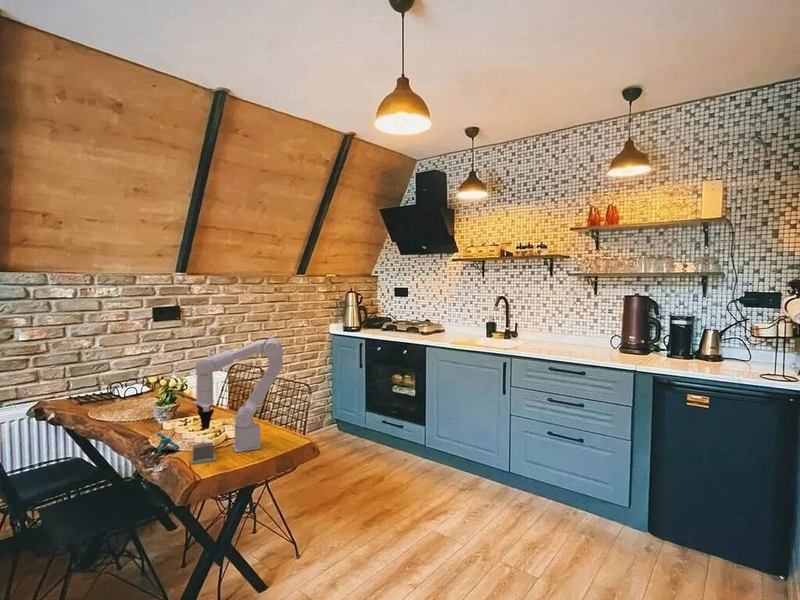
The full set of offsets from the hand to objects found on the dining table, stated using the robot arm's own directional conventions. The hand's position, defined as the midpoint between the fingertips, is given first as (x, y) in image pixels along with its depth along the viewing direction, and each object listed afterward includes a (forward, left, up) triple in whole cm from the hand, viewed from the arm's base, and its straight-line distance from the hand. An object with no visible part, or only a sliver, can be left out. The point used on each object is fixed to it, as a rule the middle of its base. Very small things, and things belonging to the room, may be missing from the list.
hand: (205, 424), depth 175 cm
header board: (+1, +9, -10) cm, 13 cm away
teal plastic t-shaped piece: (+13, -6, -10) cm, 17 cm away
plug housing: (+1, +9, -9) cm, 13 cm away
